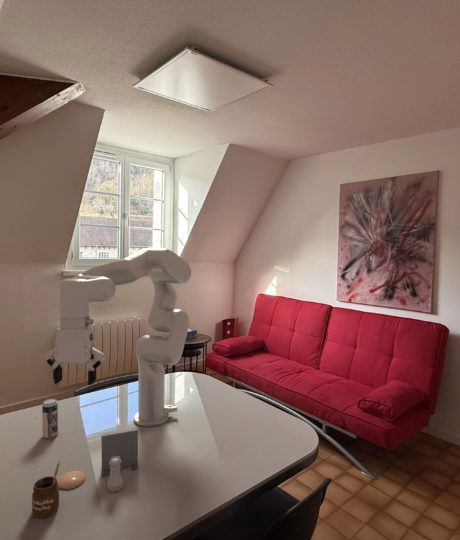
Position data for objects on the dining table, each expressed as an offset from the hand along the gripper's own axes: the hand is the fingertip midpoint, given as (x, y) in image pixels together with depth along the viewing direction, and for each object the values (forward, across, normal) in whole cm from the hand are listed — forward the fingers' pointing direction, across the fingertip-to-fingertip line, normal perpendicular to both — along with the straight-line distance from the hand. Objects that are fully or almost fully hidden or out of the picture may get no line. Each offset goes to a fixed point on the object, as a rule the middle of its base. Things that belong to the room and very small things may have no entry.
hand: (75, 382), depth 103 cm
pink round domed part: (+26, -1, +4) cm, 26 cm away
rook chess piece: (+26, -14, +6) cm, 30 cm away
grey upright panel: (+26, -12, -2) cm, 29 cm away
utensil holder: (+26, 0, +16) cm, 30 cm away
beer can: (+26, +18, -18) cm, 36 cm away
